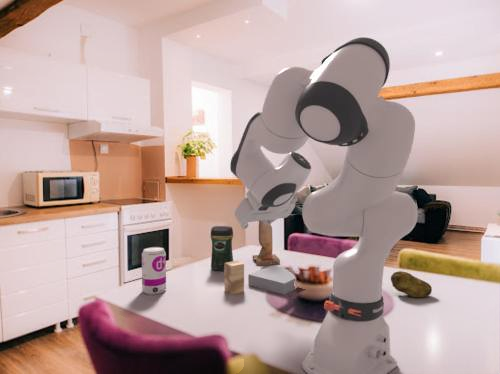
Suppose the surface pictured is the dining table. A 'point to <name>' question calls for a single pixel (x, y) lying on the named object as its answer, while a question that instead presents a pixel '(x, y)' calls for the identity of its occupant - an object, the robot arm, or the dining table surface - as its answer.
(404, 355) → the dining table surface
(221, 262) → the coffee jar
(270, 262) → the bird sculpture
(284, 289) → the grey stand
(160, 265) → the supplement can
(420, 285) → the potato
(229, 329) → the dining table surface
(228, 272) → the oak block
